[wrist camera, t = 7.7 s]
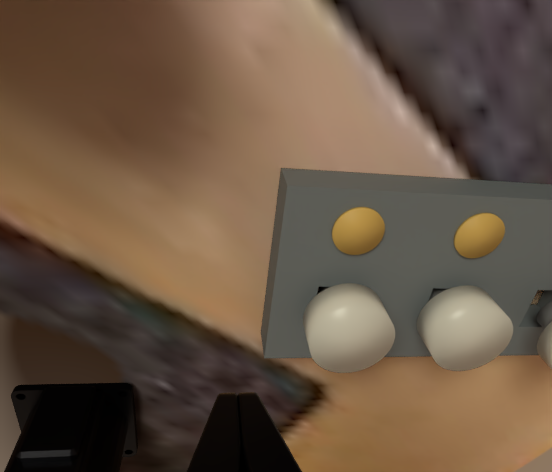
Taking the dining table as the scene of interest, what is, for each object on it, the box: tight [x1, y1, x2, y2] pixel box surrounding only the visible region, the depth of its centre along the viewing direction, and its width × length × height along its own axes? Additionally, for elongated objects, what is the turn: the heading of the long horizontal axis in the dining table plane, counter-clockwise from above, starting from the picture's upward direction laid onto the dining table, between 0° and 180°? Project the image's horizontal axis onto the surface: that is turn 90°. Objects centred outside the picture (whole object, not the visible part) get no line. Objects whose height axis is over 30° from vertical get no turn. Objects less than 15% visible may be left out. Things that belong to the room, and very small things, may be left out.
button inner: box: [303, 283, 395, 373], centre depth 21 cm, size 4×4×4 cm
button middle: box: [417, 285, 513, 371], centre depth 22 cm, size 4×4×4 cm
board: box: [261, 168, 552, 358], centre depth 23 cm, size 10×19×2 cm, turn 84°
